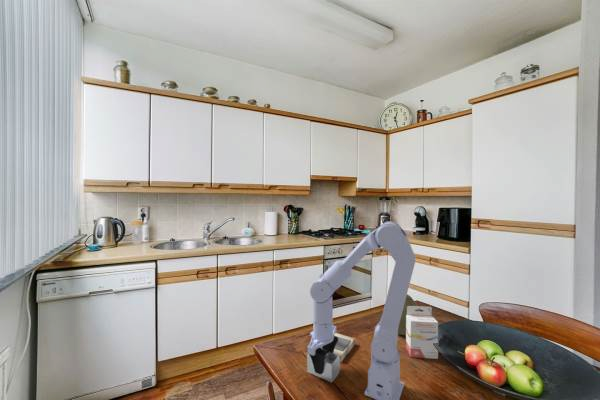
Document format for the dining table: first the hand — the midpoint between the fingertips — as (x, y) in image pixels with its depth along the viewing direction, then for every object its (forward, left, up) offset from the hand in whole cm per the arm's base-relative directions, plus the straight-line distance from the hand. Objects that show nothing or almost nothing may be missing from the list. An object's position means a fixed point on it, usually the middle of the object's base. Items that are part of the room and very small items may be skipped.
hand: (323, 367), depth 75 cm
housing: (0, 0, -1) cm, 1 cm away
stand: (+13, +3, -1) cm, 13 cm away
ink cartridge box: (+25, -23, -2) cm, 34 cm away
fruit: (+36, -15, -2) cm, 39 cm away
